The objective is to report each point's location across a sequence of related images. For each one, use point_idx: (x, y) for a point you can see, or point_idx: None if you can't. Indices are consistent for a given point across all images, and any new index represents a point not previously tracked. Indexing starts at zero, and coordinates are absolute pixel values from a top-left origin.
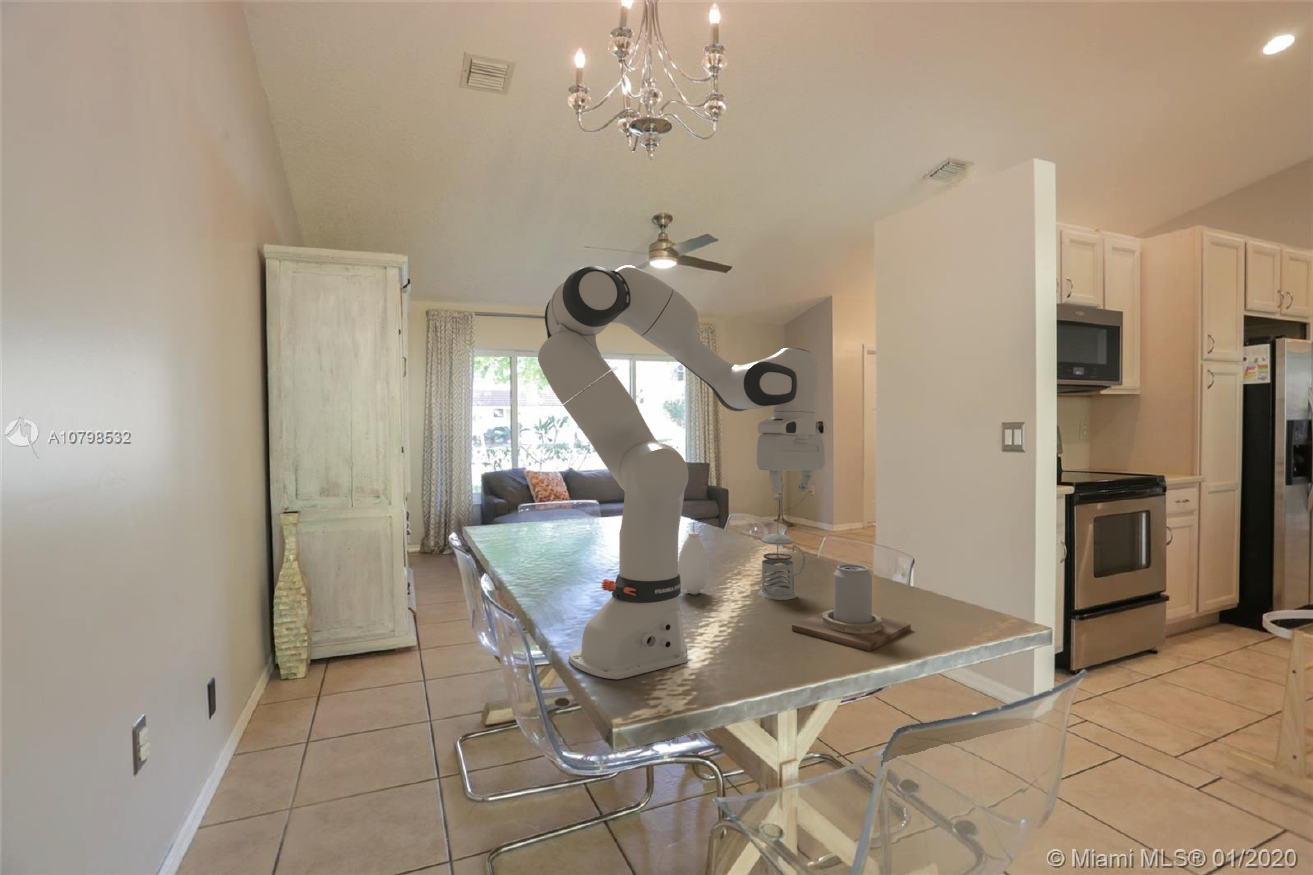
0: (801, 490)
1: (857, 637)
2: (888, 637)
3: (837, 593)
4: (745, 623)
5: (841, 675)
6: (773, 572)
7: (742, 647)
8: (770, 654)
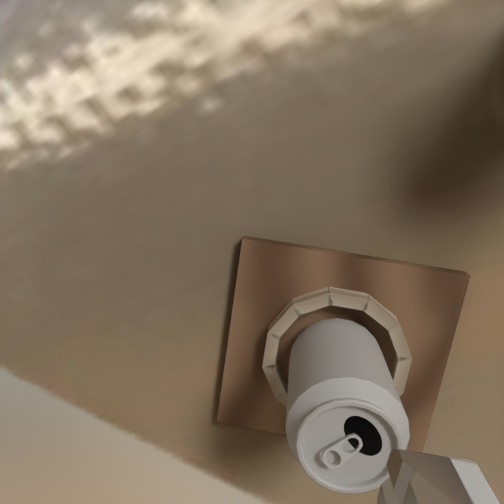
0: (392, 477)
1: (246, 390)
2: None
3: (297, 371)
4: (222, 111)
5: (72, 403)
6: None
7: (69, 195)
8: (74, 262)
